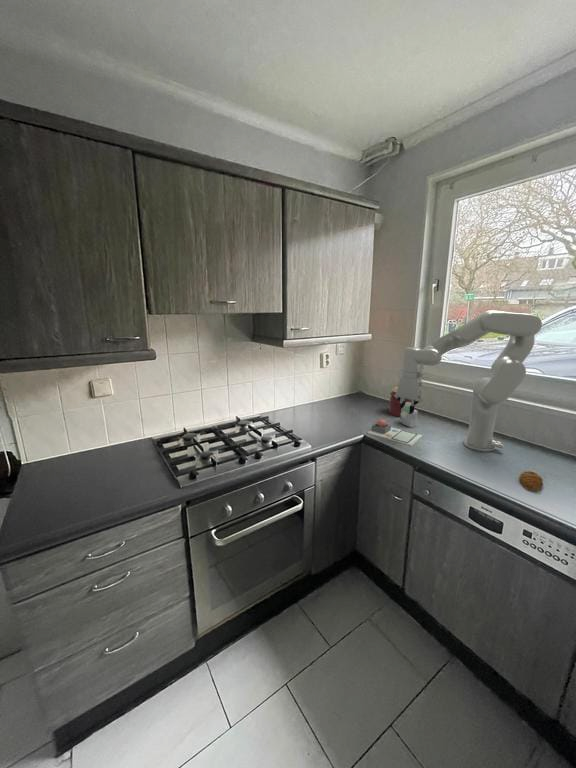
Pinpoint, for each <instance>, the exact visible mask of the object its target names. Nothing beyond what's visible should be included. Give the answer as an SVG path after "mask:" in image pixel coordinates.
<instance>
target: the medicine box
mask: <svg viewBox="0 0 576 768" xmlns="http://www.w3.org/2000/svg"><path fill="white" fill-rule="evenodd" d="M418 414H419V411H418V410H417V409H414V412H413V413H412V414H410V416H409V417H405V418H403V417H402V416H401V417H400V421H399V422H400V424H403V425H405V426H407V427H408V428H414V427H417V425H418Z"/></svg>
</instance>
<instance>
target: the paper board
mask: <svg viewBox="0 0 576 768" xmlns="http://www.w3.org/2000/svg"><path fill="white" fill-rule="evenodd" d="M367 433H368V434H367V435H370V436H374V437H378V438H381V439H386V440H387V441H388V440H389V441H392V442H396V443H399V444H402V445H407V446H410V447H413V445H414V444H416V442H418V441H419V440H420V439H421V438H422V437H423V435H422V434H418V433H414V432H411V431H407V430H403V429H399V428H395V427H392V424H389V423H386V427H385V428H383V427H379V426H377V422H375V423H373V424H372V425H371V430H369V431H367Z"/></svg>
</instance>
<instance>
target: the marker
mask: <svg viewBox="0 0 576 768" xmlns="http://www.w3.org/2000/svg"><path fill="white" fill-rule="evenodd" d="M410 406H411V403H410V402H406V404H405V405H404V407H403V408H402V409H401V414H400V415H401V416H402V417H403V418H405V417H409V416H410V414H409V412H410Z"/></svg>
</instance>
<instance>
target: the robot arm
mask: <svg viewBox="0 0 576 768" xmlns="http://www.w3.org/2000/svg"><path fill="white" fill-rule="evenodd" d="M542 327H543V322H542V319H541V318H540V317H539V316H537V315H536V314H532V313H526V312H525V313H524V312H523V313H520V312H518V313H517V312H509V311H502V310H501V311H500V310H492V309H490V310H486V311H484V312H482V313H479V314H478V315H476V316H475V317H474V318H472V319H470V320H469V321H467V322H465V323H464V324H463V325H460V326H459V327H457V328H456V329H454V330H452V331H450V332H448V333H447V334H444V335H442V336H440V337H438V338H437V339H435V340H433V341H432V342H431V343H429V344H427V345H426V346H425V347H423V348H420V347H414V346H408V347H405V348H404V351H403V359H402V360H403V361H402V371H401V376H399V380H398V383H397V387H398V388H397V392H396V393H395V395H394V397H396V398H397V399H398V400H399V402H400V404H401V405H400V410H401V409H402V408H403V407H404V405H405V402H404V401H405V398H406V399H411V406H410V412H409V414H412V413H413V412H414V410H415V407H416V405H417V404H420V403H423V402H424V399H423V396H422V390H423V389H422V384H423V383H422V378H421V377H423V374H424V373H422V372H421V366H422V365H425V366H430V367H433V366H437V365H439V364H440V362H441V361H442V356H443V355H445V354H446V353H448V352H450V351H453V350H455V349H460V348H465V347H467V346H469V345H470V346H471V344H473V343H475V342H476V341H478V340H479V339H481V338H482V337H485V336H487V335H488V334H490V333H492V334H498V335H506V336H507V335H508V336H509V340H508V342H507V344H506V345H505V347H504V349H503V350H502V351H501V353H500V354H499V355H498V356H497V358H496V359H495V360H494V361H493V363H492V365H491V367H490V371H491V373H492V374H493V376H492V377H488V376H487V377H486V376H485V377H481V378H479V379H477V380H476V381H475V383H474V385H473V389H472V405H471V412H470V418H469V424H468V425H469V426H468V431H467V437H466V438H464V439H463V440H462V444H463V445H464V446H465V447H467V448H468V449H471V450H473V451H479V452H483V453H484V452H485V453H486V452H487V453H489V452H493V451H494V450H496V449H495V448H498V449H504V444H503V443H502V442H501V441H496V440H495V436H494V432H495V431H494V430H495V423H496V420H497V414H498V406H500V405H502V404H504V403H505V402H506V401H508V399H509V398H510V397H511V396H512V395H513V393H514V392H515V391H516V389H518V387H519V386H520V384H521V383H522V382H523V380H524V379H525V377H526V373H527V371H526V370H527V369H526V366H525V365H524V364H523V363H524V362H525V360H526V359H527V357H528V356H529V355H530V353H531V352H532V351H533V347H534V345H535V340H536V339H535V335H536V334H538V333H539V332H540V331H541V329H542ZM493 436H494V437H493Z"/></svg>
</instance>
